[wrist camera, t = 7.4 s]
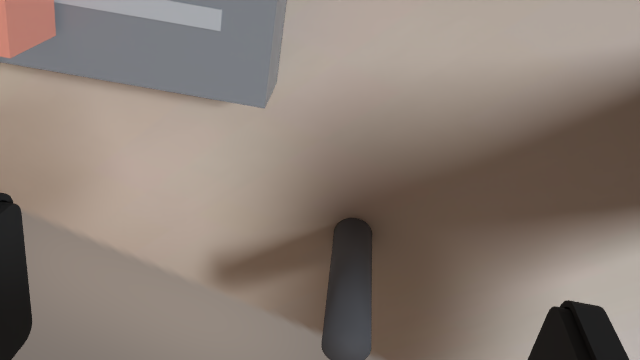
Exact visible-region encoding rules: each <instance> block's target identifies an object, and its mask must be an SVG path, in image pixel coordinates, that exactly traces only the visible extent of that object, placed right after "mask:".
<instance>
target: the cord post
mask: <svg viewBox="0 0 640 360" xmlns="http://www.w3.org/2000/svg"><path fill="white" fill-rule="evenodd" d="M371 294H372V231H371V229H370V227H369V225H368V224H367V223H366V222H364V221H362V220H360V219H357V218H348V219H345V220H343V221H341V222H340V223H338V225H337V226H336V227H335V230H334V238H333V247H332V256H331V265H330V274H329V283H328V291H327V300H326V309H325V318H324V327H323V336H322V350H323V352H324V354H325V355H326V356H327V357H328V358H329V359H330V360H365V359H366V358H367V357H368V356H369V354H370V351H371Z"/></svg>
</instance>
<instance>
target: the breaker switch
mask: <svg viewBox="0 0 640 360" xmlns="http://www.w3.org/2000/svg"><path fill="white" fill-rule="evenodd" d="M54 36H56V27H55V10H54V0H0V57H5V58H12V57H14V56H16V55H18V54H20V53H22V52H24V51H26V50H28V49H30V48H32V47H34V46H36V45H38V44H40V43H42V42H44V41H46V40H48V39H50V38H52V37H54Z"/></svg>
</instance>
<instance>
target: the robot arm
mask: <svg viewBox="0 0 640 360" xmlns="http://www.w3.org/2000/svg"><path fill="white" fill-rule="evenodd" d="M31 326H32V314H31V304H30V294H29V284H28V275H27V265H26V256H25V246H24V235H23V225H22V215H21V209H20V207H19V206H18V205H17V204H13V200H12V198H11V197H10V196H9V195H8V194H5V193H0V360H11V359H12V358H13V357H14V356H15V354H16V353H17V352H18V350H19V349H20V348H21V347H22V345H23V344H24V343H25V341H26V340H27V338H28V336H29V334H30V331H31ZM528 360H629V358H628V356H627V354H626V352H625V350H624V348H623V346H622V344H621V342H620V340H619V338H618V336H617V334H616V332H615V330H614V328H613V326H612V324H611V322H610V320H609V318H608V316H607V314H606V312H605V311H604V309H603V308H602V307H599V306H595V305H590V304H584V303H579V302H574V301H569V300H568V301H564V302H563V303H562V304H561V306H560V307H552V308H551V309H550V310H549V312H548V314H547V316H546V319H545V321H544V323H543V326H542V328H541V330H540V332H539V335H538V337H537V339H536V342H535V344H534V346H533V349H532V351H531V353H530V355H529V358H528Z"/></svg>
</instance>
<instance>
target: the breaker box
mask: <svg viewBox="0 0 640 360" xmlns="http://www.w3.org/2000/svg"><path fill="white" fill-rule="evenodd" d="M286 2H287V0H54V10H55V27H56V36H54V37H52V38H50V39H48V40H46V41H44V42H42V43H40V44H38V45H36V46H34V47H32V48H30V49H28V50H26V51H24V52H22V53H20V54H18V55H16V56H14V57H12V58H5V57H0V62H3V63H8V64H14V65H20V66H25V67H31V68H37V69H43V70H48V71H54V72H60V73H65V74H71V75H77V76H83V77H88V78H94V79H100V80H105V81H111V82H117V83H123V84H128V85H134V86H140V87H145V88H151V89H157V90H163V91H168V92H174V93H180V94H186V95H191V96H197V97H203V98H208V99H214V100H220V101H226V102H231V103H237V104H243V105H248V106H254V107H260V108H265V107H266V104H267V102H268V100H269V98H270V96H271V94H272V92H273V90H274V87H275V85H276V82H277V74H278V66H279V58H280V50H281V42H282V34H283V26H284V18H285V10H286Z"/></svg>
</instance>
